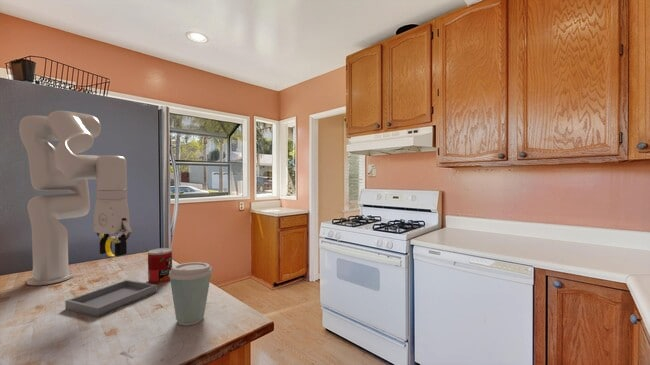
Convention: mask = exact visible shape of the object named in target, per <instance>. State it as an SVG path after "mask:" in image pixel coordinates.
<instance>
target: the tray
mask: <svg viewBox="0 0 650 365" xmlns="http://www.w3.org/2000/svg"><path fill="white" fill-rule="evenodd" d="M157 289H158V288H157V284H155V283H148V282H142V281H137V280H131V279H125V280H122V281H119V282H115V283H113V284H109V285H107V286H105V287H101V288H98V289H96V290H93V291H89V292H87V293H84V294H80V295H78V296H76V297H73V298H70V299H66V300H65V302H64V303H65V305H64V306H65V307H64V308H65V310H66V311H67V310H68V311H71V312H75V313H78V314H83V315H86V316H90V317H93V318H94V317H95V318H101V317H102V316H103V317H104V316H105V315H106V314H109V313H112V312H114V311H116V310H119V309H122V308H125V307H126V306H128V305H131V304H133V303H136V302H138V301H140V300H142V299H145V298H146V297H149V296H151V295H153V294H156V293H158V291H157Z"/></svg>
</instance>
